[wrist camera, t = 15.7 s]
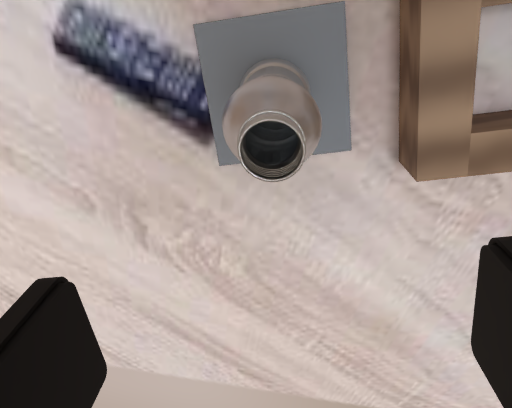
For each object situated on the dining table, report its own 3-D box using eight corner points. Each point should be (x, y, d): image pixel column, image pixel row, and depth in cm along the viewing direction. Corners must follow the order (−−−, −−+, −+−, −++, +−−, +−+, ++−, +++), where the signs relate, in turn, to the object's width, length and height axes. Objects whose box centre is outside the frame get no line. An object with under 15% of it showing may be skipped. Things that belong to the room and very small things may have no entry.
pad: (194, 24, 38) (193, 24, 38) (343, 1, 37) (344, 1, 36) (220, 163, 44) (219, 165, 43) (350, 148, 42) (351, 150, 42)
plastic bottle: (292, 133, 41) (304, 223, 23) (231, 107, 41) (193, 179, 22) (320, 72, 39) (357, 120, 21) (255, 44, 38) (234, 67, 20)
